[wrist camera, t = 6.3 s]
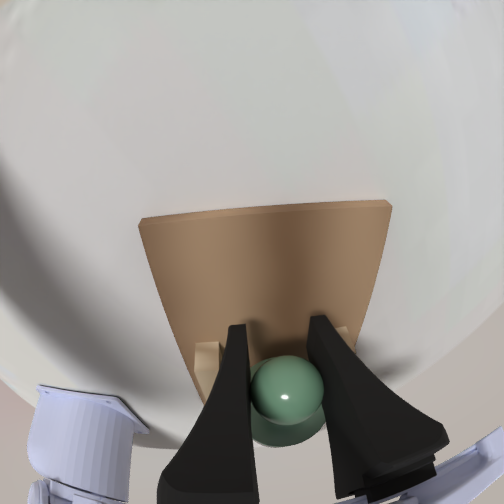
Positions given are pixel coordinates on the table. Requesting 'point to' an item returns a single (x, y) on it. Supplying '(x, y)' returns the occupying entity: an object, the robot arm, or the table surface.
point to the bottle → (285, 401)
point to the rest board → (264, 276)
